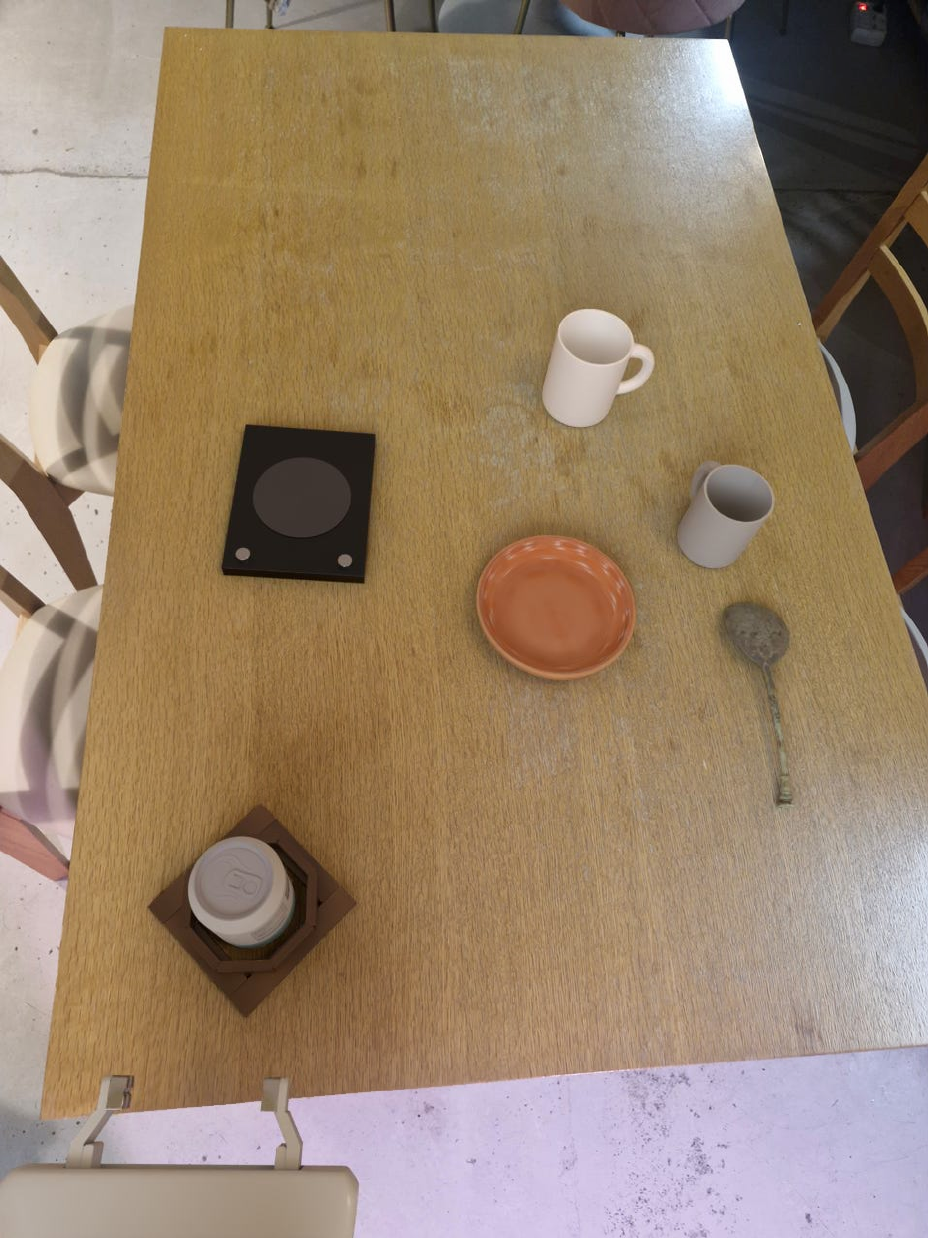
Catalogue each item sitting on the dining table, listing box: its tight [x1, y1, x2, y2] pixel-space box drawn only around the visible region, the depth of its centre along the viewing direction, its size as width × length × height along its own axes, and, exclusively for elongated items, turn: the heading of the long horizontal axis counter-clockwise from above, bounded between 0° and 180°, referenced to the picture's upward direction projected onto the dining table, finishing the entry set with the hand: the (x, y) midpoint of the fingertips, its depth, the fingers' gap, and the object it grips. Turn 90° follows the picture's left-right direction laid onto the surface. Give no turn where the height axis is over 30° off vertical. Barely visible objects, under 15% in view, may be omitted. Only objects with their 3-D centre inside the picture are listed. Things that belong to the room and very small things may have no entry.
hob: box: [220, 423, 377, 585], centre depth 88 cm, size 18×14×2 cm
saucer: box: [475, 534, 637, 681], centre depth 85 cm, size 16×16×3 cm
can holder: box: [147, 803, 357, 1018], centre depth 70 cm, size 12×12×3 cm
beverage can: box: [188, 837, 296, 949], centre depth 66 cm, size 7×7×12 cm
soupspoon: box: [723, 602, 798, 809], centre depth 83 cm, size 22×3×7 cm
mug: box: [541, 308, 655, 428], centre depth 95 cm, size 12×8×10 cm
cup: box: [676, 459, 776, 569], centre depth 89 cm, size 7×10×9 cm
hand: (199, 1076), depth 52 cm, fingers open, 8 cm apart
